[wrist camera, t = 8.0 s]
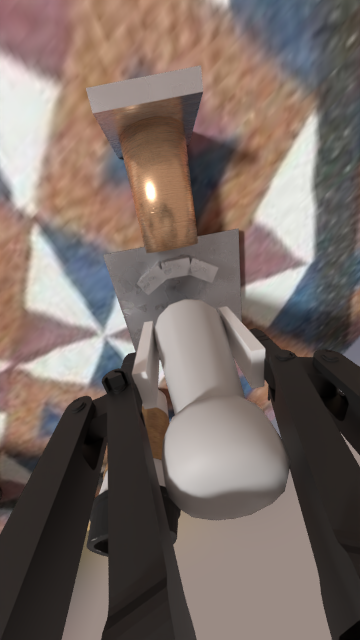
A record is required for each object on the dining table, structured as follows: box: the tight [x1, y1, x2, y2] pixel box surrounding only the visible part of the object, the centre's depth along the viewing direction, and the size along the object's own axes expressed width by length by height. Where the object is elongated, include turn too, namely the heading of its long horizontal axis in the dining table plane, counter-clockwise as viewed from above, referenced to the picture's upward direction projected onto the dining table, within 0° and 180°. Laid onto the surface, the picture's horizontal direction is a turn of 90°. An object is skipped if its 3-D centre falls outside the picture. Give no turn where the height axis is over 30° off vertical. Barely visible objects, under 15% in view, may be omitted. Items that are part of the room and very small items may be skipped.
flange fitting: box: [86, 66, 242, 360], centre depth 17 cm, size 14×22×6 cm, turn 10°
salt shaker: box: [154, 299, 291, 520], centre depth 11 cm, size 6×6×13 cm
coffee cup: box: [87, 389, 181, 557], centre depth 22 cm, size 8×8×15 cm
